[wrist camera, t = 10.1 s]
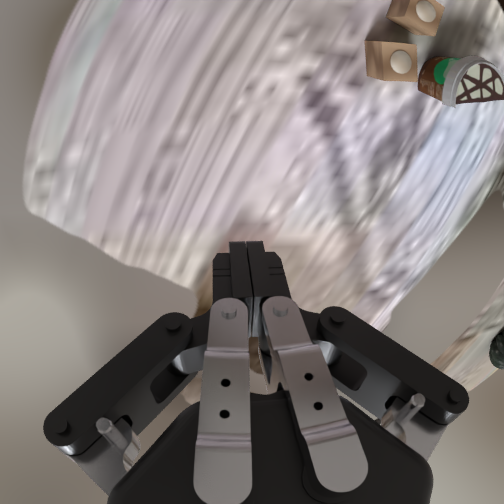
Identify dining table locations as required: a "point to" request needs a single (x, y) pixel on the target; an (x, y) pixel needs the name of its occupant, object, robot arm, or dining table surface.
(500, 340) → the squash
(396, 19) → the marked block
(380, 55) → the marked block
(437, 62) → the food container
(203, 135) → the dining table surface
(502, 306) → the dining table surface
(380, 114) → the dining table surface
